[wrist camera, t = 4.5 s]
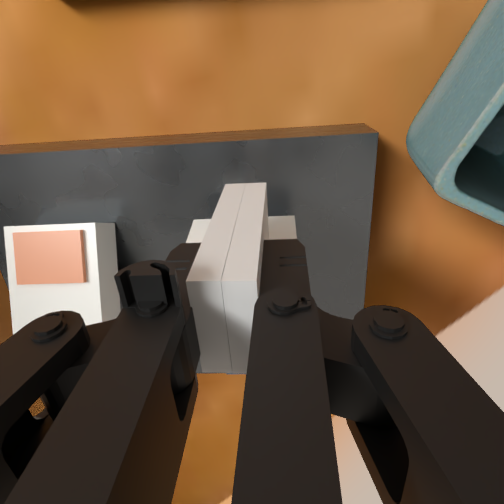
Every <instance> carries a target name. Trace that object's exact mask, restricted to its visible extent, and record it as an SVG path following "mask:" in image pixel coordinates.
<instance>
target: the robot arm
mask: <svg viewBox="0 0 504 504" xmlns="http://www.w3.org/2000/svg"><path fill="white" fill-rule="evenodd" d="M114 279H115V282H116V285H117V289H118V292H119V296H120V299H121V302H122V306H123V308H122V310H121V312H120V313H119V315H118V317H117V318H116V319H113V320H109V321H104V322H100V323H95V324H91V325H85V322H84V320H83V318H82V316H81V315H80V314H79V313H77V312H74V311H56V312H51V313H48V314H45V315H43V316H41V317H38V318H36V319H35V320H33V321H31V322H30V323H28V324H27V325H25V326H24V327H23V328H21V329H20V330H19V331H18V332H16V333H15V334H14V335H12V336H11V337H10V338H9V339H7V340H6V341H5V342H4V343H2V344H1V345H0V504H171V502H172V498H173V494H174V489H175V485H176V481H177V477H178V473H179V468H180V464H181V460H182V456H183V452H184V447H185V443H186V439H187V435H188V431H189V426H190V422H191V418H192V414H193V410H194V405H195V401H196V397H197V393H198V381H197V376H196V370H197V366H198V362H199V358H200V363H201V368H202V373H232V372H233V374H246V382H245V391H244V399H243V408H242V417H241V425H240V434H239V442H238V451H237V460H236V468H235V477H234V486H233V494H232V503H231V504H342V497H341V489H340V481H339V473H338V466H337V458H336V451H335V442H334V435H333V427H332V419H331V414H334V415H337V416H340V417H343V418H346V420H347V424H348V426H349V429H350V431H351V433H352V435H353V437H354V440H355V442H356V444H357V446H358V449H359V451H360V453H361V455H362V458H363V460H364V462H365V464H366V466H367V469H368V471H369V473H370V475H371V478H372V480H373V482H374V484H375V486H376V489H377V491H378V493H379V495H380V498H381V500H382V502H383V504H504V412H503V411H502V410H501V409H500V408H499V407H498V406H497V405H496V404H495V402H494V401H493V400H492V399H491V398H490V397H489V396H488V395H487V394H486V393H485V391H484V390H483V389H482V388H481V387H480V386H479V385H478V384H477V382H475V380H474V379H473V378H472V377H471V376H470V375H469V374H468V373H467V372H466V370H465V369H464V368H463V367H462V366H461V365H460V364H459V363H458V362H457V360H456V359H455V358H454V357H453V356H452V355H451V354H450V353H449V352H448V351H447V349H446V348H445V347H444V346H443V345H442V344H441V343H440V342H439V341H438V340H437V338H436V337H435V336H434V335H433V334H432V333H431V332H430V331H429V329H428V328H427V327H426V326H425V325H424V324H423V323H422V322H421V321H420V320H419V319H418V318H416V317H415V316H414V315H413V314H411V313H409V312H407V311H405V310H402V309H400V308H397V307H391V306H386V305H381V306H370V307H367V308H364V309H361V310H360V311H359V312H358V313H357V314H355V316H354V319H353V320H352V319H347V318H342V317H338V316H334V315H331V314H329V313H327V312H325V311H323V310H321V309H320V308H319V307H317V304H316V302H315V300H314V298H313V297H312V296H311V290H310V283H309V275H308V267H307V259H306V252H305V246H304V245H303V244H302V243H301V242H300V241H299V240H298V239H275V240H269V225H268V205H267V185H266V182H265V183H238V184H225V186H224V189H223V191H222V194H221V196H220V199H219V201H218V204H217V206H216V208H215V211H214V213H213V216H212V218H211V221H210V223H209V226H208V228H207V230H206V233H205V235H204V238H203V240H202V243H181V244H180V245H178V246H177V247H176V248H174V249H173V250H172V251H170V253H169V255H168V257H167V258H166V260H165V261H163V260H147V261H141V262H137V263H134V264H131V265H129V266H127V267H125V268H123V269H121V270H120V271H119V272H118V273H117V274H116V275H115V276H114ZM39 397H40V398H41V400H42V402H43V404H44V406H45V409H44V410H43V411H42V412H41V413H39V414H38V415H37V416H34V417H33V416H32V415H31V413H30V411H29V407H30V406H31V405H32V404H33V403H34V402H35V401H36V400H37V399H38V398H39Z"/></svg>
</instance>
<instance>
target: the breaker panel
mask: <svg viewBox="0 0 504 504" xmlns="http://www.w3.org/2000/svg"><path fill="white" fill-rule="evenodd" d="M377 145H378V132H377V131H375V130H374V129H372V128H370V127H369V126H367V125H365V124H364V123H362V124H345V125H329V126H312V127H295V128H279V129H262V130H246V131H229V132H213V133H196V134H179V135H163V136H146V137H130V138H113V139H96V140H80V141H63V142H47V143H30V144H13V145H0V270H1V273H2V275H3V278H4V280H5V282H6V285H7V287H8V289H9V283H8V272H7V260H6V249H5V238H4V226H27V225H51V224H75V223H115V235H116V250H117V265H118V272H119V271H120V270H121V269H123V268H125V267H127V266H129V265H131V264H134V263H137V262H141V261H147V260H163V261H165V260H166V258H167V257H168V255H169V253H170V251H172V250H173V249H174V248H176V247H177V246H178V245H180V244H181V243H186V241H187V238H188V235H189V232H190V229H191V226H192V223H193V220H197V219H211V218H212V216H213V213H214V211H215V208H216V206H217V204H218V201H219V199H220V196H221V194H222V191H223V189H224V186H225V184H238V183H265V182H266V185H267V205H268V217H269V216H293V215H295V225H296V235H297V239H298V240H299V241H300V242H301V243H302V244H303V245H304V246H305V252H306V259H307V267H308V275H309V283H310V290H311V296H312V297H313V298H314V300H315V302H316V304H317V307H319V308H320V309H321V310H323V311H325V312H327V313H329V314H331V315H334V316H338V317H342V318H347V319H352V320H353V319H354V316H355V314H357V313H358V312H359V311H360V310H361V309H364V299H365V287H366V275H367V263H368V251H369V240H370V228H371V216H372V204H373V192H374V180H375V169H376V157H377ZM122 308H123V306H122V302H121V299H120V310H122ZM196 373H202V368H201V363H200V358H199V362H198V366H197V370H196ZM226 374H233V373H226Z"/></svg>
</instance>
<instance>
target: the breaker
mask: <svg viewBox="0 0 504 504" xmlns="http://www.w3.org/2000/svg"><path fill="white" fill-rule="evenodd" d="M4 238H5V249H6V260H7V272H8V283H9V294H10V306H11V317H12V328H13V335H14V334H15V333H16V332H18V331H19V330H20V329H21V328H23V327H24V326H25V325H27V324H28V323H30V322H31V321H33V320H35V319H36V318H38V317H41V316H43V315H45V314H48V313H51V312H56V311H74V312H77V313H79V314H80V315H81V316H82V318H83V320H84V322H85V325H91V324H95V323H100V322H104V321H109V320H113V319H116V318H117V317H118V315H119V313H120V312H121V310H120V296H119V292H118V289H117V285H116V282H115V279H114V276H115V275H116V274H117V273H118V265H117V250H116V235H115V223H75V224H51V225H27V226H4Z"/></svg>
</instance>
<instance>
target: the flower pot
mask: <svg viewBox="0 0 504 504" xmlns="http://www.w3.org/2000/svg"><path fill="white" fill-rule="evenodd" d="M406 145H407V150H408V153H409V155H410V157H411V158H412V160H413V161H414V163H415V164H416V166H417V167H418V169H419V170H420V171H421V173H422V174H423V175H424V177H425V178H426V180H427V181H428V182H429V184H430V185H431V186H432V188H433V189H434V190H435V192H436V193H437V194H438V195H439V196H440V197H442V198H443V199H445V200H447V201H449V202H451V203H453V204H455V205H457V206H460V207H462V208H465V209H467V210H469V211H471V212H474V213H476V214H478V215H480V216H482V217H484V218H487V219H489V220H491V221H493V222H495V223H497V224H501V225H502V226H504V0H488V1H487V3H486V4H485V6H484V8H483V9H482V11H481V13H480V14H479V16H478V17H477V19H476V21H475V22H474V24H473V26H472V27H471V29H470V30H469V32H468V34H467V35H466V37H465V39H464V40H463V42H462V43H461V45H460V47H459V48H458V50H457V51H456V53H455V55H454V56H453V58H452V59H451V61H450V63H449V64H448V66H447V68H446V69H445V71H444V72H443V74H442V75H441V77H440V79H439V80H438V82H437V83H436V85H435V87H434V88H433V90H432V91H431V93H430V95H429V96H428V98H427V99H426V101H425V103H424V104H423V106H422V107H421V109H420V110H419V112H418V113H417V115H416V117H415V118H414V120H413V122H412V124H411V126H410V128H409V130H408V133H407V137H406Z"/></svg>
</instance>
